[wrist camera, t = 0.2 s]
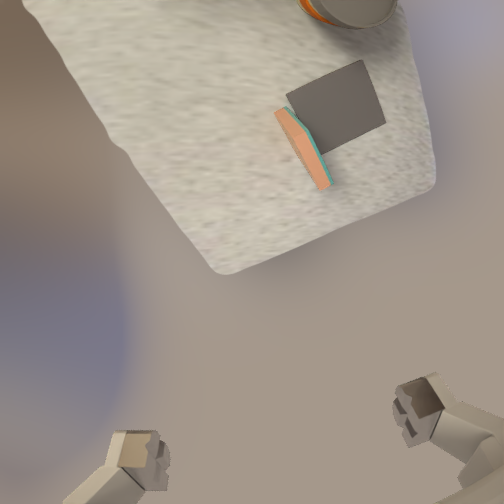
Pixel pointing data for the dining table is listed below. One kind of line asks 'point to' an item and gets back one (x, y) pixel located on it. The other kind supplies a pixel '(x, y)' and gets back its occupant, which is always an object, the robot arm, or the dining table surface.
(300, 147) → the tile
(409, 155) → the dining table surface
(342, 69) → the mat
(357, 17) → the reusable coffee cup
